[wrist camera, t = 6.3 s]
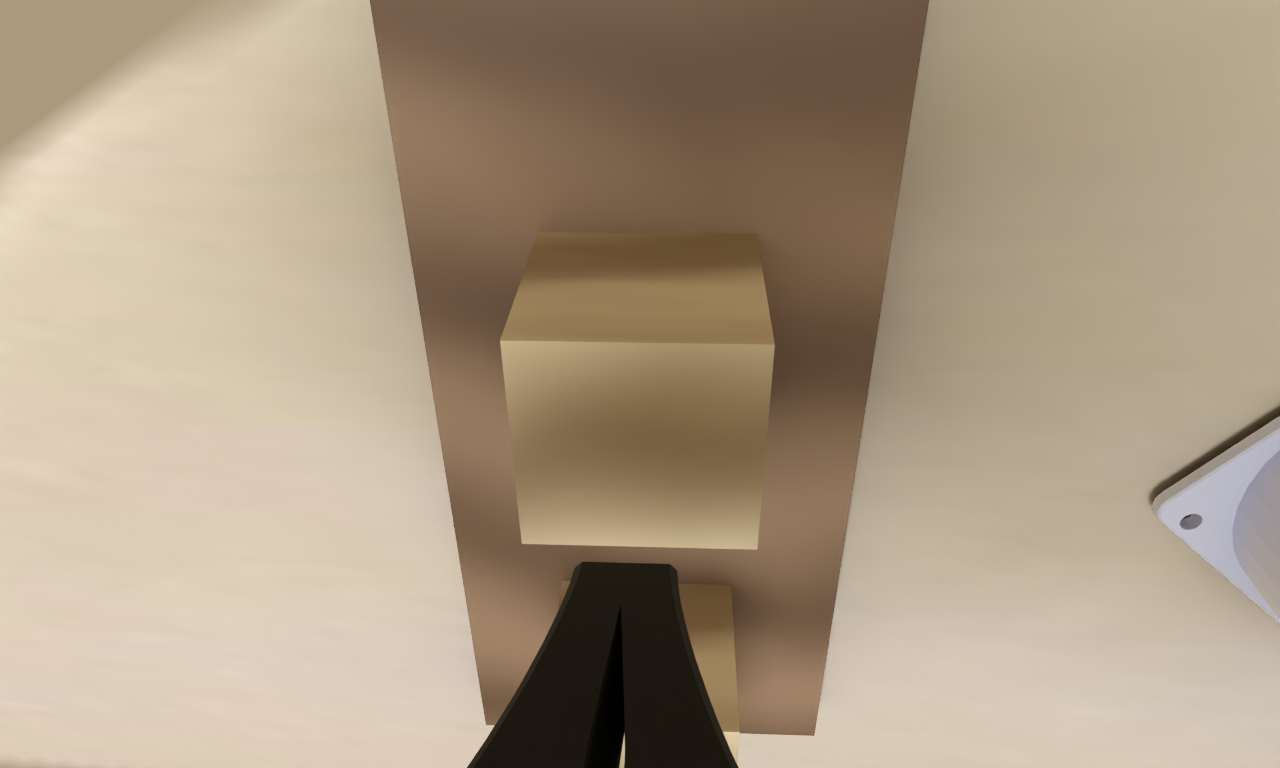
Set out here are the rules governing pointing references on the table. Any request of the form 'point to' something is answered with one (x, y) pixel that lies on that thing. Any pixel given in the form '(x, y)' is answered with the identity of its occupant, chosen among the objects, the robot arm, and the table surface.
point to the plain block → (639, 389)
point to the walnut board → (656, 203)
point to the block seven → (710, 651)
